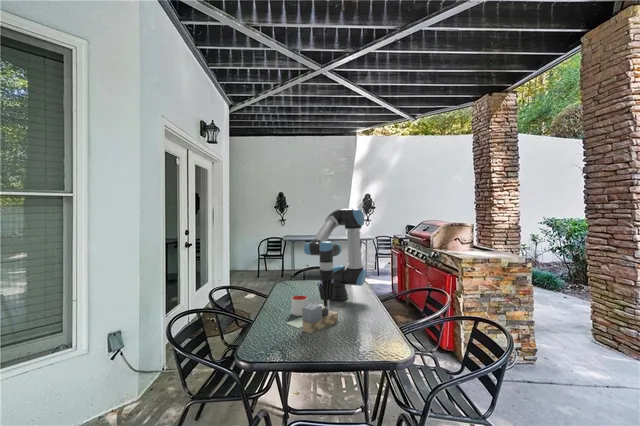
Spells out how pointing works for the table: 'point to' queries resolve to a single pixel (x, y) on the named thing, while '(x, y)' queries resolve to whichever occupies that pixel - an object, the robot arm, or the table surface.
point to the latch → (324, 312)
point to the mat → (296, 323)
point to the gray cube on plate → (312, 313)
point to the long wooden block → (321, 322)
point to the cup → (298, 304)
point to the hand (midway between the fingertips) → (327, 311)
